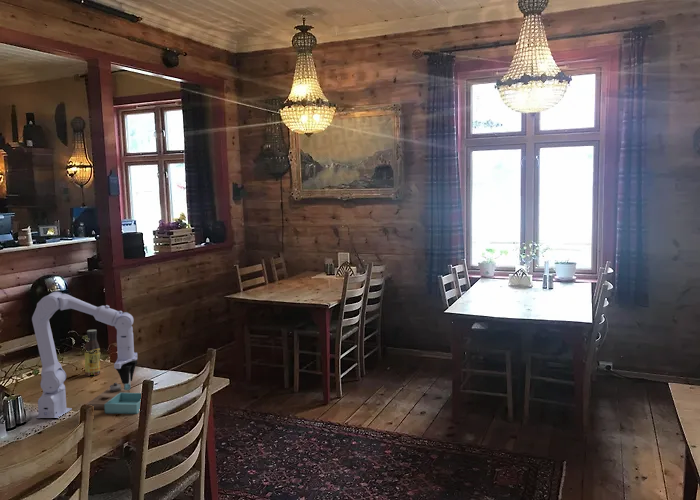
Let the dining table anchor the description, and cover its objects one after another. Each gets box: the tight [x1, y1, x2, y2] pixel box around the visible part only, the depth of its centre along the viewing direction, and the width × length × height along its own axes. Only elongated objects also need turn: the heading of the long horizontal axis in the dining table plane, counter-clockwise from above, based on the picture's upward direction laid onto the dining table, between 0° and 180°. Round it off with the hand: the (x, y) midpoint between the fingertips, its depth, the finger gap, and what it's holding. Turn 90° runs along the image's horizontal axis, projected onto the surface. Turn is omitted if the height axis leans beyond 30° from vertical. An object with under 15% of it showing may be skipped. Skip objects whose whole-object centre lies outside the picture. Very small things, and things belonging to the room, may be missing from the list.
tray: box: [104, 392, 142, 415], centre depth 212 cm, size 12×12×4 cm
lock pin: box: [123, 374, 132, 390], centre depth 211 cm, size 2×2×7 cm
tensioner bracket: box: [86, 382, 131, 410], centre depth 219 cm, size 18×8×5 cm, turn 176°
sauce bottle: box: [84, 329, 101, 377], centre depth 251 cm, size 7×6×20 cm
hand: (127, 382), depth 211 cm, fingers closed on lock pin, 2 cm apart
